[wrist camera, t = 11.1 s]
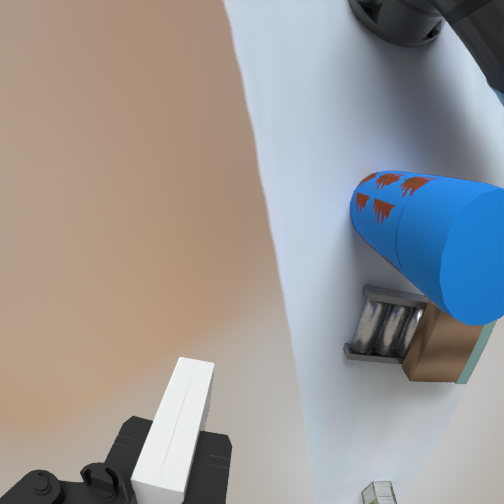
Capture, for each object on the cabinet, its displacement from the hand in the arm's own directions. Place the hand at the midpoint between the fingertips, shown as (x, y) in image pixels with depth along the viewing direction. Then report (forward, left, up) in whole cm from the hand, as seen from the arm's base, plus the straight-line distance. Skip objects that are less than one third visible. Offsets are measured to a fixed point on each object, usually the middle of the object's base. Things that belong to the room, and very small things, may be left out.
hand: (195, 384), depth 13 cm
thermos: (-7, +19, -32) cm, 38 cm away
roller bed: (+10, +29, -32) cm, 44 cm away
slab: (+10, +34, -29) cm, 46 cm away
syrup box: (+56, +43, -32) cm, 78 cm away
